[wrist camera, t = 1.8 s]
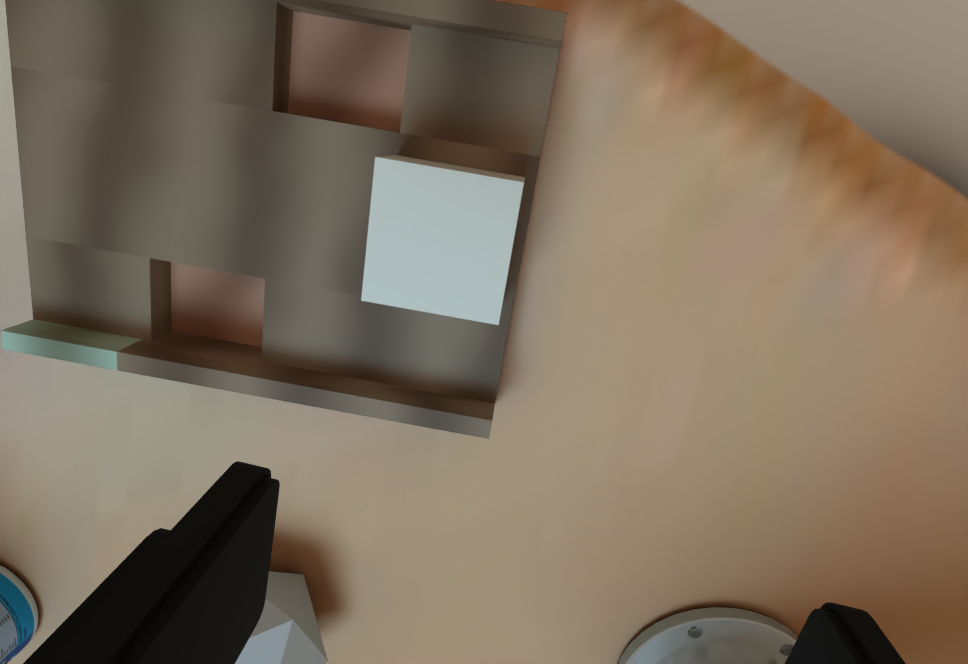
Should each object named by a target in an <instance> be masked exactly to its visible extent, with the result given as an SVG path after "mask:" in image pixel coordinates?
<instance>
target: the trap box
mask: <svg viewBox="0 0 968 664" xmlns="http://www.w3.org/2000/svg"><path fill="white" fill-rule="evenodd" d="M5 4H6V15H7V26H8V37H9V49H10V60H11V71H12V83H13V94H14V105H15V117H16V128H17V139H18V151H19V162H20V173H21V184H22V196H23V207H24V218H25V230H26V241H27V252H28V264H29V275H30V286H31V298H32V309H33V320H30V321H27V322H24V323H21V324H18V325H16V326H13V327H10V328H7V329H4V330H1V337H2V346H3V349H5V350H10V351H16V352H21V353H27V354H32V355H37V356H43V357H48V358H54V359H59V360H65V361H70V362H75V363H81V364H86V365H92V366H97V367H103V368H108V369H113V370H119V371H124V372H130V373H135V374H141V375H146V376H151V377H157V378H162V379H168V380H173V381H178V382H184V383H189V384H195V385H200V386H206V387H211V388H216V389H222V390H227V391H233V392H238V393H244V394H249V395H254V396H260V397H265V398H271V399H276V400H282V401H287V402H292V403H298V404H303V405H309V406H314V407H320V408H325V409H330V410H336V411H341V412H347V413H352V414H357V415H363V416H368V417H374V418H379V419H385V420H390V421H395V422H401V423H406V424H412V425H417V426H423V427H428V428H433V429H439V430H444V431H450V432H455V433H461V434H466V435H471V436H477V437H482V438H488V439H489V435H490V430H491V424H492V418H493V412H494V405H495V399H496V394H497V388H498V383H499V377H500V372H501V367H502V361H503V356H504V350H505V345H506V339H507V334H508V328H509V323H510V318H511V312H512V307H513V301H514V296H515V290H516V285H517V280H518V274H519V269H520V263H521V258H522V252H523V247H524V241H525V236H526V231H527V225H528V220H529V214H530V209H531V203H532V198H533V192H534V187H535V182H536V176H537V171H538V165H539V160H540V154H541V149H542V144H543V138H544V133H545V127H546V122H547V116H548V111H549V105H550V100H551V95H552V89H553V84H554V78H555V73H556V67H557V62H558V56H559V51H560V47H561V43H562V39H563V33H564V28H565V22H566V17H567V13H564V12H558V11H552V10H546V9H540V8H534V7H528V6H521V5H515V4H509V3H503V2H497V1H491V0H5ZM394 155H399V156H405V157H410V158H416V159H422V160H428V161H434V162H440V163H445V164H451V165H457V166H463V167H469V168H474V169H480V170H486V171H492V172H498V173H504V174H509V175H515V176H521V177H525V181H524V187H523V193H522V198H521V204H520V210H519V215H518V221H517V226H516V232H515V238H514V243H513V249H512V254H511V260H510V266H509V271H508V277H507V283H506V288H505V294H504V299H503V305H502V310H501V315H500V320H499V325H495V324H489V323H483V322H478V321H472V320H467V319H461V318H455V317H450V316H444V315H439V314H433V313H427V312H422V311H416V310H411V309H405V308H399V307H394V306H388V305H383V304H377V303H372V302H366V301H361V296H362V286H363V276H364V266H365V256H366V245H367V235H368V225H369V215H370V204H371V194H372V184H373V174H374V163H375V157H379V156H394Z"/></svg>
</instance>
